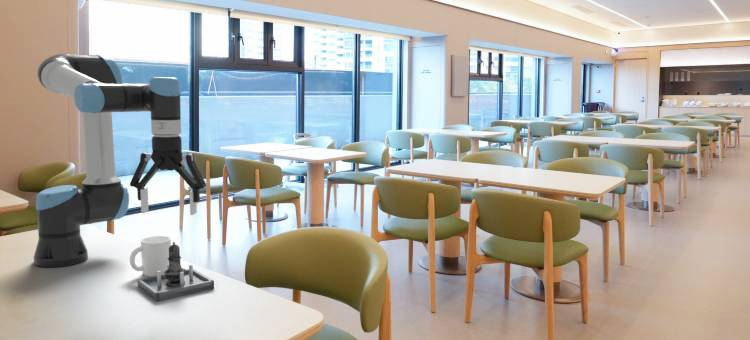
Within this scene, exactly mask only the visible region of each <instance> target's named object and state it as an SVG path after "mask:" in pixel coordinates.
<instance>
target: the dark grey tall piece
mask: <svg viewBox="0 0 750 340" xmlns="http://www.w3.org/2000/svg"><path fill="white" fill-rule="evenodd" d="M180 250H181V249H180V246H179V245H178V244H176V242H175V241H173V242H172V244H171V246H170V247H169V258H168V260H169V268H168V270H165V271H164V274H165V277H166V279H168V280H169V281H168V282H167V283H166V284H165V285H166V286H168V287H178V286H180V272H184V276H185V272H186V270H187V269H186V268H183V267H182V265H181V260H182V256H181V254H180V252H181V251H180ZM184 284H185V281H184Z"/></svg>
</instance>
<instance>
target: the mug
mask: <svg viewBox="0 0 750 340" xmlns="http://www.w3.org/2000/svg"><path fill="white" fill-rule="evenodd" d="M171 243H172V241H171V237H169V236H167V235H166V236H165V235H154V236H148V237H144V238H142V239H141V240H140V246H137V247H135V248H133V250H132V252H131V254H130V256H129V265H130V266H131V268H132V269H133V270H134V271H137V272H142V274H143V275H144V276H146V277H147V278H148V277H153V276H157V271H161V275H163V274H164V271H165V270H167V264H169V260H168V258H169V247H170V246H171V245H172V244H171ZM138 253H141V266H140V265H137V264H136V261H135V259H136V256H137V255H138Z"/></svg>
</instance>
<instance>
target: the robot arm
mask: <svg viewBox="0 0 750 340" xmlns="http://www.w3.org/2000/svg"><path fill="white" fill-rule="evenodd" d="M37 78H38V82H39V83H40V85H41V86H43V88H45V89H46V90H48V91H50V92H52V93H54V94H55V93H56V94H63V95H64V96H67V97H68V98H70V99H72V100H74V104H75V106H76V108H77V110H78V111H79V112H80V113H82V124H83V126H82V127H83V140H84V155H85V169H86V178H84V180H82V182H81V184H82V188H78V186H77V185H75V184H74V185H73V184H66V185H57V186H53V187H49V188H46V189H43V190H42V191H39V192H38V193H37V195H36V201H35V210H36V218H37V219H36V220H37V231H38V240H37V244H36V246H35V252H34V255H33V265H35V266H36V267H41V268H59V267H66V266H67V267H68V266H72V265H76V264H79V263H82V262H84V261H86V260H88V258H89V256H88V255H89V254H88V249H87V247H86V244H85V242H84V239H83V237H82V236H81V226H85V225H90V224H96V223H97V224H98V223H103V222H112V221H115V220H120V219H122V218H123V217H125V215H126V213H127V212H128V209H129V205H130V195H129V192H128V191H129V190H128V187H127V186H126V185H125V184H123V183H122V180H121V178H119V177H118V176H117V175H116V162H115V160H116V159H115V148H114V147H115V146H114V143H115V142H114V132H113V131H114V130H113V127H114V126H113V113H118V112H119V113H129V112H130V113H131V112H132V113H134V112H140V113H141V112H149V113H150V119H151V120H150V121H151V122H150V124H151V127H150V128H151V131H150V132H151V134H152V135H153V136H152V137H151V150H152V151H151V152H152V153H149V152H148V151H145V152H142V153H141V154H140V159H139V163H138V165H137V168H136V169H135V170H134V174H133V176H132V178H131V181H130V182H129V186H130V187H133V188H136V189H137V191H136V193H137V200H138V201H140V206H141V207H140V211H141V213H142V214H146V213H147V212H149V193H148V192H149V189H148V187H146V185H148V183H149V182H150V181H151V179H153V177H154V176H155V174H156V173H157V172H158V171H159V170H160V171H165V170H167V171H175V172H176V173H178V175H180V178H182V179H183V180H184V181H185V183H186V184H187V185H188V187H189V188H190V189H191V190H189V212H190V213H189V215H190V216H193V215H195V214H197V213H198V212H197V211H198V210H197V203H198V202H200V199H201V198H200V195H201V194H200V190H203V189H204V188H206V187H207V183H206V181H205V179H204V177H203V176H202V173H201V171H200V170H199V168H198V166H197V163H196V161H195V156H194V154H193V153H188V154H183V153H182V150H183V149H182V137H181V136H180V135H181V134H182V121H181V120H182V119H181V117H182V116H181V115H182V114H181V113H182V112H181V87H180V80H179V79H178V78H177V77H164V76H163V77H161V76H157V77H156V76H154V77H151V78H150V79H149V83H146V82H145V83H123V77H122V72H121V68H120V66H119V64H118V63H117V61H116V60H115V59H114V58H113V57H111V56H109V55H108V56H107V55H100V54H76V53H75V54H69V53H60V54H54V55H52V56H49V57H47V58H46V59H44V60H43V61H42V62H41V63H40V64H39V66H38V69H37ZM150 160H152V162H153V164H152V165H151V166H150V169H149V170H148V171H147V172H146V174H145V175H144V176H143V174H144V172H145V169H146V168H147V166H148V163H149V161H150ZM183 160H184V163H186V165H187V167H188V169H189V170H190V172H191V174H192V175H191V174H190V173H189V171H188V170H187V169H186V168H185V166H184V165H183V163H182V161H183ZM142 176H143V177H142ZM141 178H142V179H141Z"/></svg>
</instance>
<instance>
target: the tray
mask: <svg viewBox="0 0 750 340" xmlns="http://www.w3.org/2000/svg"><path fill="white" fill-rule="evenodd" d="M193 265H194V264H189V265H188V269H185V270H186V272H185V276H184V272H180V286H178V287H168V286H166V285H165V284H166V283H167V282H168V281H169V280H168V279H166V277H165V274H163V275H161V271H157V276H153V277H148V276H147V277H144V278H143V277H142V278H139V279H137V282H136V283H137V288H138V289H140V290H141V292H143V293H145V294H146V295H147V296H149V297H150V298H151V299H153V300H154V301H155V302H156V303H157V302H161V301H164V300H170V299H174V298H179V297H183V296H187V295H191V294H195V293H199V292H205V291H208V290H212V289H213V290H214V289H215V281H214V280H213V279H211V278H210V277H208V276H207V275H205V274H204V273H202V272H199V271H198V270H196V269H195V268H194V267H193ZM168 268H169V264H167V270H168ZM184 281H185V284H184Z"/></svg>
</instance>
